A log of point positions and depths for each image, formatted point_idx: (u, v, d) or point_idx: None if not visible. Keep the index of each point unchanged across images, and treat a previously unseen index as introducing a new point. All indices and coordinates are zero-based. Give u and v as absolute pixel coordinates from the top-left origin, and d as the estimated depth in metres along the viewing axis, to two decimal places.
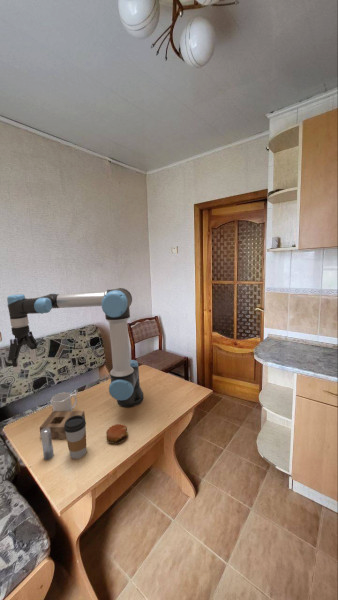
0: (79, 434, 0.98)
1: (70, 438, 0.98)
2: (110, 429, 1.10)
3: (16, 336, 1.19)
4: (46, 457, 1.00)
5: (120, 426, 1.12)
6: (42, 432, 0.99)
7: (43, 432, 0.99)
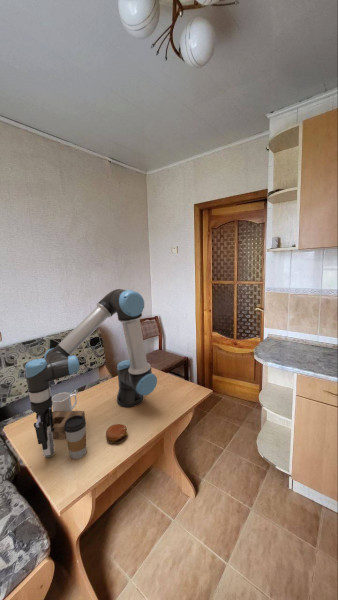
0: (79, 434, 0.98)
1: (70, 438, 0.98)
2: (110, 429, 1.11)
3: (38, 413, 0.95)
4: (47, 455, 1.00)
5: (120, 426, 1.12)
6: None
7: None
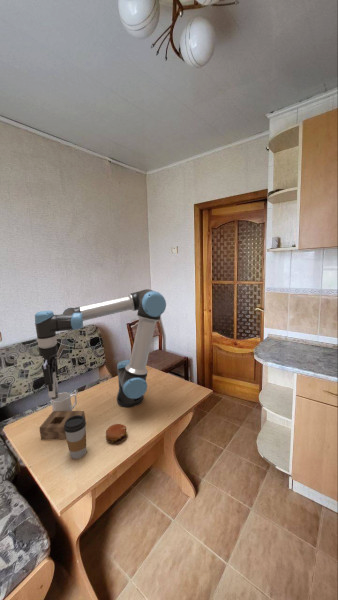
0: (79, 434, 0.98)
1: (70, 438, 0.98)
2: (110, 429, 1.11)
3: (46, 357, 1.07)
4: (52, 397, 1.12)
5: (120, 426, 1.12)
6: None
7: None
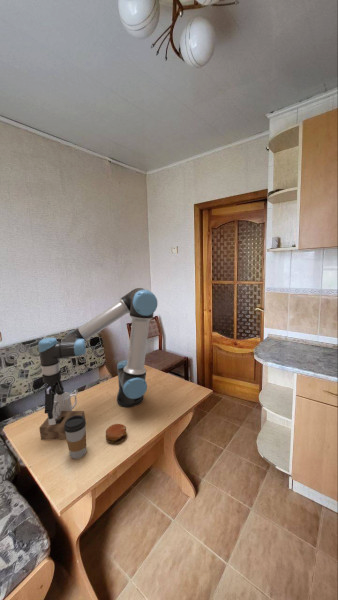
0: (79, 434, 0.98)
1: (70, 438, 0.98)
2: (109, 428, 1.11)
3: (49, 384, 1.09)
4: None
5: (120, 425, 1.13)
6: None
7: (54, 405, 1.13)
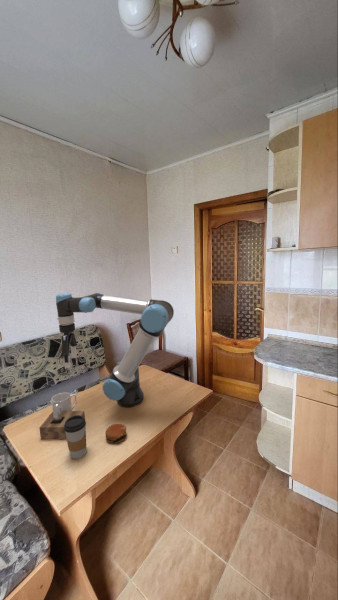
0: (79, 434, 0.98)
1: (70, 438, 0.98)
2: (109, 428, 1.11)
3: (65, 333, 1.24)
4: None
5: (119, 425, 1.13)
6: (54, 405, 1.14)
7: (55, 405, 1.14)
